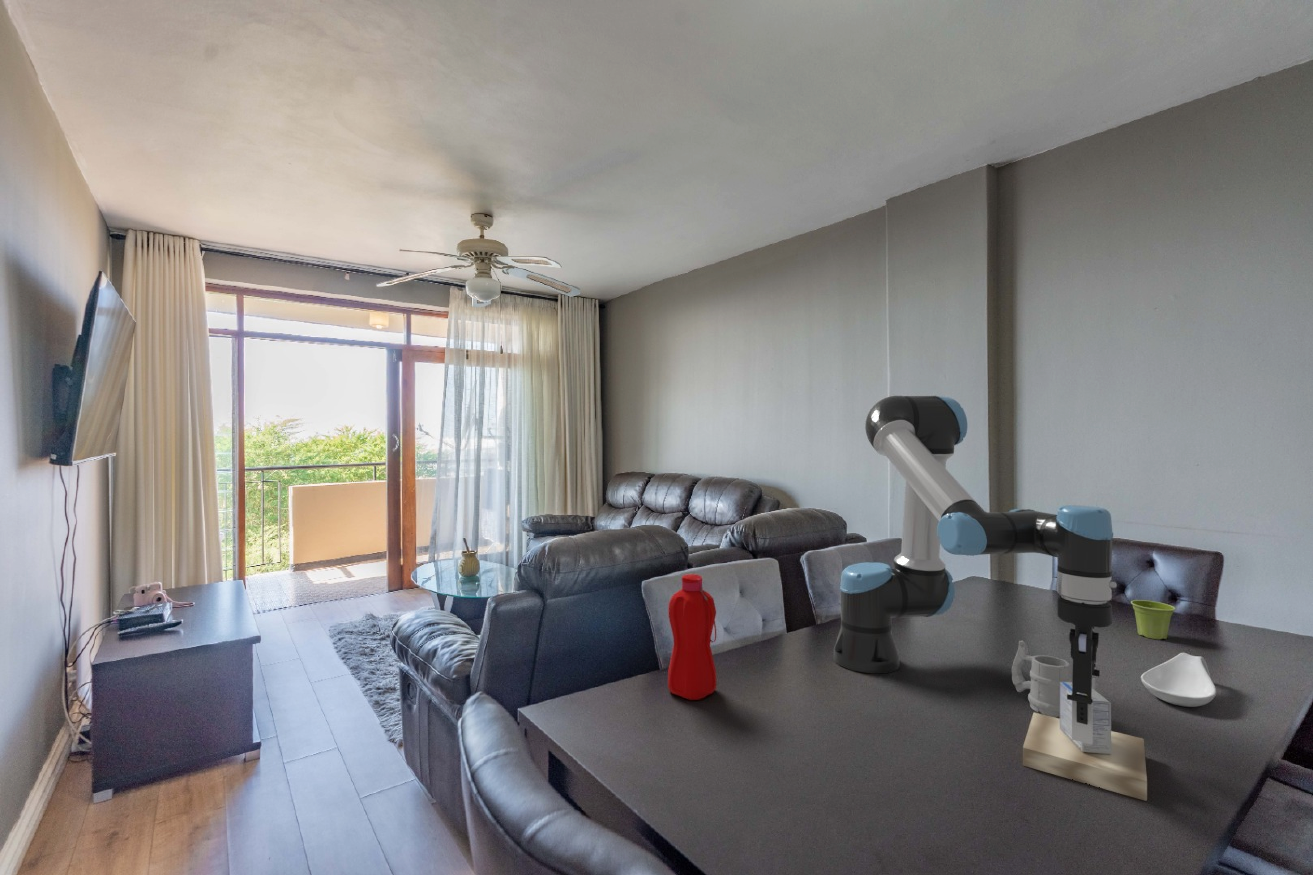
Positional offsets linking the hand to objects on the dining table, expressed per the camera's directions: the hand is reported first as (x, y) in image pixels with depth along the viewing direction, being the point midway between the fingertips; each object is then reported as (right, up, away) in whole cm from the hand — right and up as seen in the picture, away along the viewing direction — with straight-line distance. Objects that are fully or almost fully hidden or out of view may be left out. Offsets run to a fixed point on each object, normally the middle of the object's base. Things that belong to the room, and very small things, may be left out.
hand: (1084, 726), depth 101 cm
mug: (+6, -6, +21) cm, 22 cm away
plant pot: (+64, -6, +63) cm, 90 cm away
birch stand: (0, -6, 0) cm, 6 cm away
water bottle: (-64, -6, +27) cm, 70 cm away
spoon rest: (+40, -6, +27) cm, 49 cm away
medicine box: (0, -3, 0) cm, 3 cm away
